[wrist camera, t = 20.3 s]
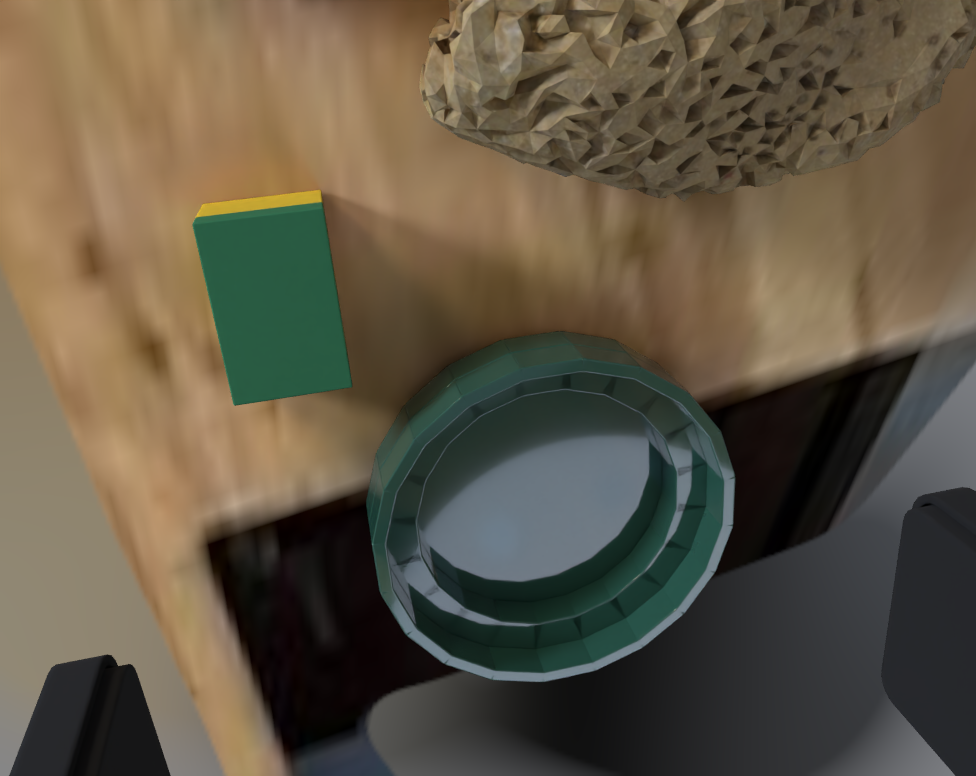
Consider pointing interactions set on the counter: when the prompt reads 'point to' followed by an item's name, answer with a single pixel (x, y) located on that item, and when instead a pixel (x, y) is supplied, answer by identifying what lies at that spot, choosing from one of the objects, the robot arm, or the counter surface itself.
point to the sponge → (690, 83)
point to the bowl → (547, 507)
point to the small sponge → (273, 295)
